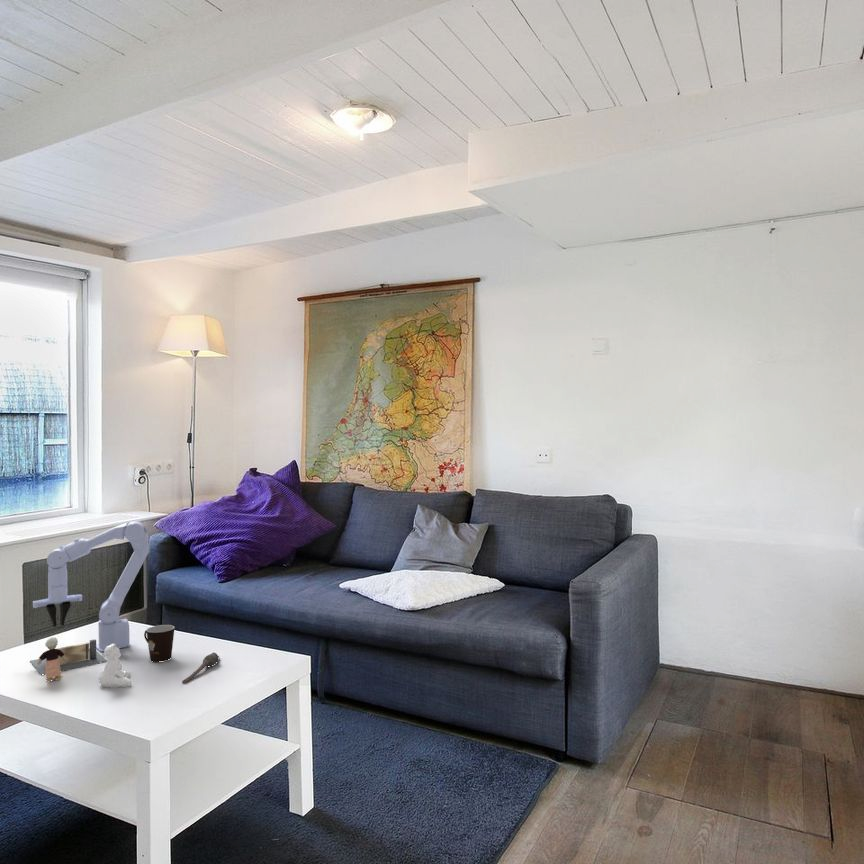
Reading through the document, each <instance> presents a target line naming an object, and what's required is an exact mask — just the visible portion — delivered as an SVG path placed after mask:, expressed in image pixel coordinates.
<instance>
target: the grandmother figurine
mask: <svg viewBox="0 0 864 864" xmlns="http://www.w3.org/2000/svg"><path fill="white" fill-rule="evenodd" d="M58 642H59V641H58V638H57V637H55V636H54V637H52V636H51V637H49V638H48V639H47V640H46V641H45V645H44V646H45V647H46V648H47V649H48V650H46V651H45V650H44V652H42V654H41V655H39V657H38V659H39V660H38V662H37V664H38V665H40V664H41V662H42V660H44V659H46V658H47V659H46V675H45V677H46V679H45V680H47V681H50V682H52V681H51V680H53V681H54V680H55V681H59V680H58V679H60V680H61V679H62V678H63V675H62V673H61V672H62V671H61V670H60V661H59V658H58V656H60V657H62V659H63V661H66V660H67V658H66V656H65V654H64V653H63V652H62V651H61V650H59V649H58V648H56V647H57V646H58ZM47 681H46V682H47Z"/></svg>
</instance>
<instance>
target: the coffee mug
mask: <svg viewBox="0 0 864 864" xmlns="http://www.w3.org/2000/svg"><path fill="white" fill-rule="evenodd" d="M174 635H175V626H174V625H171V624H160V625H153V626H151V627H148V628H147V629H146V630H145V631H144V634H143V637H144V640H145V641H146V643H147V645H148V653H149V659H150V660H151V661H153V662H152V663H160V662H159V661H165V660H168V659H170V658H171V659H172V654H173V647H174V646H173V644H174ZM171 659H170V660H171ZM150 660H149V661H150ZM151 661H150V662H151ZM168 661H169V660H168ZM165 662H166V661H165Z"/></svg>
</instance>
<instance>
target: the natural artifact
mask: <svg viewBox="0 0 864 864" xmlns="http://www.w3.org/2000/svg"><path fill="white" fill-rule="evenodd" d="M219 658H220V655H218V654H217V653H216V652H211V653H210V654H207V655H206V656H204V658H203V660H202V663H201V665H200V666H198V668H197V669H196V670H195V671H193V673H191V674H190V675H188V676H187V677H186V678H185V679H183V680H182V681H181V683H182V685H186V684H187V683H188V682H189V681H191V680H193V679H194V677H197V675H199V673H201V672H202V671H203V670H204V669H205V668H209V667H208V666H212V665H214V664H215V665H217V664H216V662H218V661H219V660H218V659H219ZM215 665H214V666H215ZM192 678H193V679H192Z"/></svg>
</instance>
